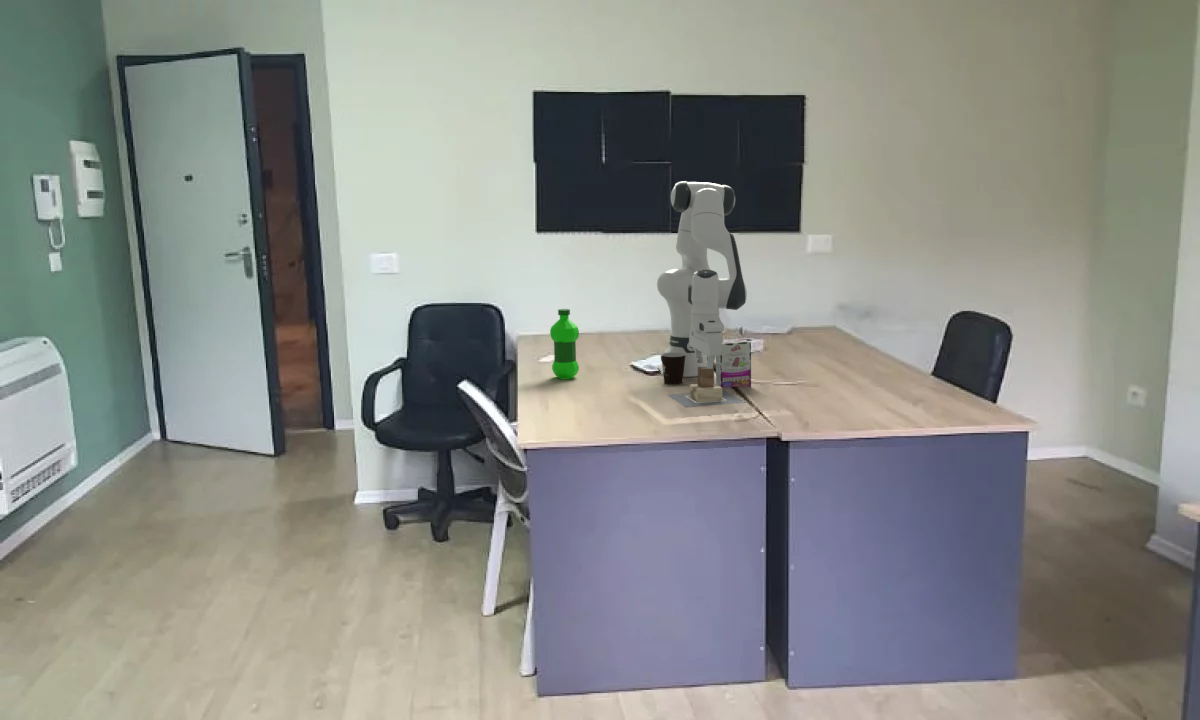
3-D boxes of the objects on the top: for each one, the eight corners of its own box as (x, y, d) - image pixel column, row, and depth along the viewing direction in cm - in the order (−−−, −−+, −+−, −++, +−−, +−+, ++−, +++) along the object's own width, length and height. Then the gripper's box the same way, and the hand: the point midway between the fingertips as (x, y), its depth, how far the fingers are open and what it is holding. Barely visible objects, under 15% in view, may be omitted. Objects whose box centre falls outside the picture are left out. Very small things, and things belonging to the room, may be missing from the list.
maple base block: (689, 396, 301) (689, 384, 300) (712, 394, 303) (713, 382, 302) (698, 402, 293) (698, 389, 292) (722, 400, 295) (722, 387, 294)
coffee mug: (684, 385, 324) (684, 357, 323) (659, 384, 326) (659, 356, 324) (687, 378, 336) (687, 351, 334) (664, 377, 337) (663, 350, 335)
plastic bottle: (546, 379, 338) (544, 310, 333) (560, 374, 347) (559, 307, 343) (570, 381, 334) (568, 312, 329) (584, 376, 343) (583, 308, 338)
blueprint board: (666, 399, 304) (666, 394, 304) (724, 394, 309) (724, 390, 309) (685, 411, 287) (685, 406, 287) (746, 407, 292) (746, 402, 292)
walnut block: (697, 385, 299) (697, 366, 298) (709, 384, 300) (709, 366, 299) (702, 387, 295) (702, 369, 294) (713, 387, 296) (714, 368, 295)
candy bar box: (745, 386, 321) (745, 339, 318) (751, 389, 316) (752, 341, 313) (714, 388, 318) (715, 341, 315) (720, 392, 314) (721, 343, 310)
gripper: (684, 317, 303) (684, 359, 305) (706, 327, 283) (706, 372, 286) (703, 317, 304) (702, 358, 307) (726, 326, 285) (725, 371, 287)
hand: (704, 365), depth 296 cm, fingers open, 8 cm apart
